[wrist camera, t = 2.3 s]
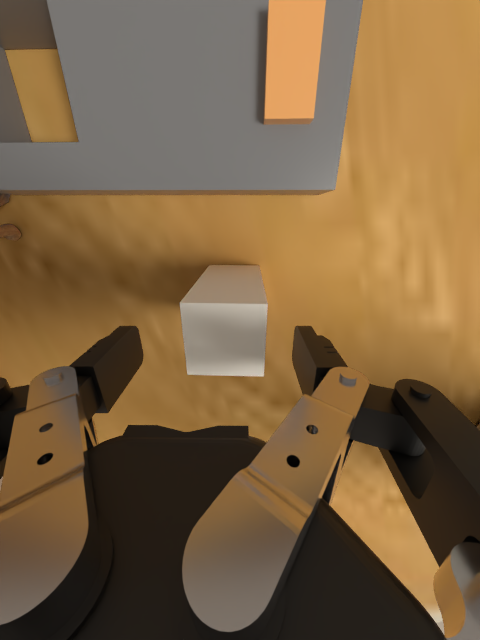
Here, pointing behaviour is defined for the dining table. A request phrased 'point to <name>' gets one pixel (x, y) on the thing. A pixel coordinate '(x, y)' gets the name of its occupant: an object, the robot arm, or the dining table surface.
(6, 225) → the lion figurine
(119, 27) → the grey board with slot
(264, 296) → the white rectangular block
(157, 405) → the dining table surface
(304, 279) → the dining table surface
